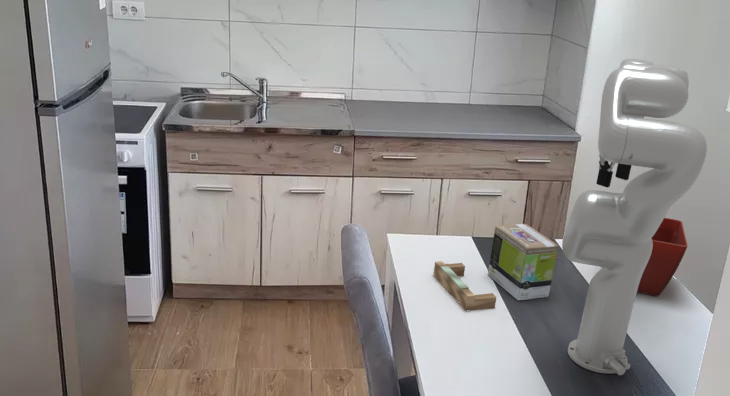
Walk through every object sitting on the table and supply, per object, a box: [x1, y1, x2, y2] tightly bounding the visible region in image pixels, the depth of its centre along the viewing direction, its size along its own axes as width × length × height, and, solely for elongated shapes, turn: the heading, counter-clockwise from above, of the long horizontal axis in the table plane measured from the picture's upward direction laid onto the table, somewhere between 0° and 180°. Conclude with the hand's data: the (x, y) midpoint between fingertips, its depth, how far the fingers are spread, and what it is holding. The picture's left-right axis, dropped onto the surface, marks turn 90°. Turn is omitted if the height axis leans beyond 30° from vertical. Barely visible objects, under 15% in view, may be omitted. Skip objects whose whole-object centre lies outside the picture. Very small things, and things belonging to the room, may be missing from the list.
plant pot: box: [637, 217, 689, 297], centre depth 189 cm, size 19×19×17 cm
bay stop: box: [433, 260, 497, 312], centre depth 178 cm, size 19×8×4 cm, turn 19°
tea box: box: [487, 223, 559, 301], centre depth 182 cm, size 15×10×15 cm
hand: (612, 182), depth 170 cm, fingers open, 9 cm apart
